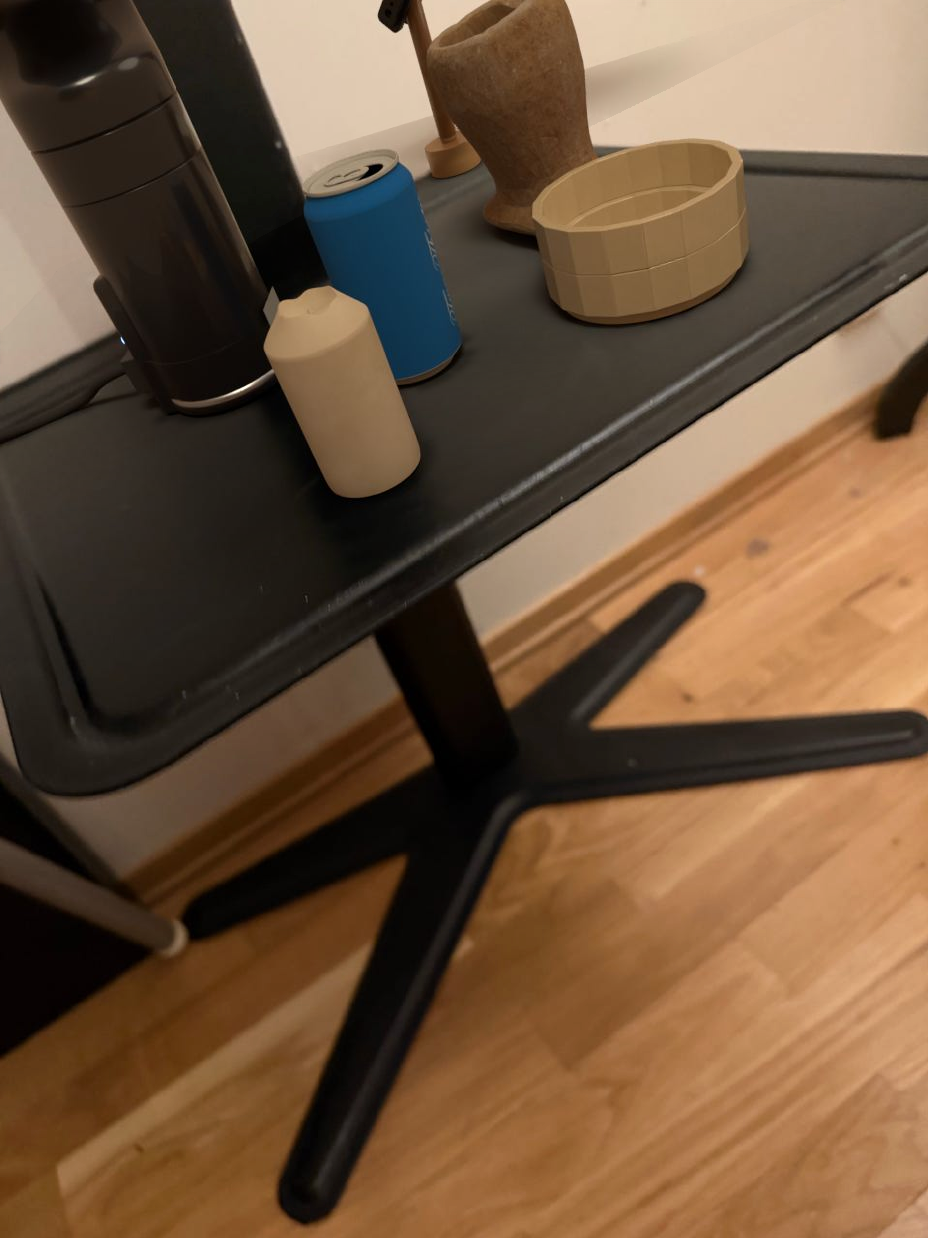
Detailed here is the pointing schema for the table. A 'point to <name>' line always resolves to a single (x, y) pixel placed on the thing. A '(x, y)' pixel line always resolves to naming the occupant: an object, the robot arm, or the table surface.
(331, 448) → the candle
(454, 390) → the table surface
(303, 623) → the table surface
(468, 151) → the wooden plunger
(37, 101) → the robot arm
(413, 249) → the beverage can
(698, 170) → the bowl
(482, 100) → the stone cup
